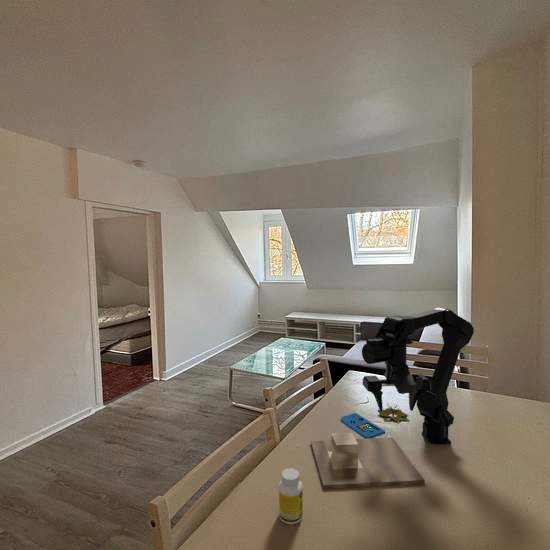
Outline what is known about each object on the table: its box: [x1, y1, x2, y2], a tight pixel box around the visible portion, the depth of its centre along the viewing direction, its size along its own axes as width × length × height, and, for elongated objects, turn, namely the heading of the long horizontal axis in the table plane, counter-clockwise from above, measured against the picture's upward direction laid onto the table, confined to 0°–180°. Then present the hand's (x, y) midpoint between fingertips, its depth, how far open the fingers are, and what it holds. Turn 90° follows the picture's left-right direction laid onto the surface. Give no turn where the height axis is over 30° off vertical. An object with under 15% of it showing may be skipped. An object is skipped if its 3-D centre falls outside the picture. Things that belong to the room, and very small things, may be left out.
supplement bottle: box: [278, 467, 304, 525], centre depth 74 cm, size 5×5×10 cm
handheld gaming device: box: [340, 412, 386, 439], centre depth 113 cm, size 8×1×15 cm
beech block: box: [331, 432, 358, 467], centre depth 93 cm, size 6×6×6 cm
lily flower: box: [376, 403, 410, 424], centre depth 120 cm, size 12×12×5 cm
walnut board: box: [310, 437, 426, 490], centre depth 93 cm, size 26×20×1 cm
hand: (396, 410), depth 98 cm, fingers open, 9 cm apart
